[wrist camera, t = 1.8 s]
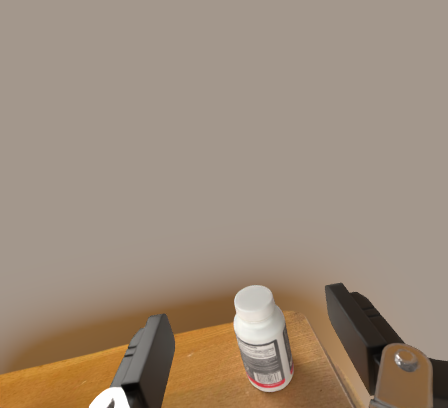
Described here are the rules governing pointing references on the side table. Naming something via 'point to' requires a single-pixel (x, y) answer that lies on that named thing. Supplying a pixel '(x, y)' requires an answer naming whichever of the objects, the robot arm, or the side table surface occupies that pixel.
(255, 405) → the side table surface
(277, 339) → the pill bottle
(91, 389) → the side table surface
